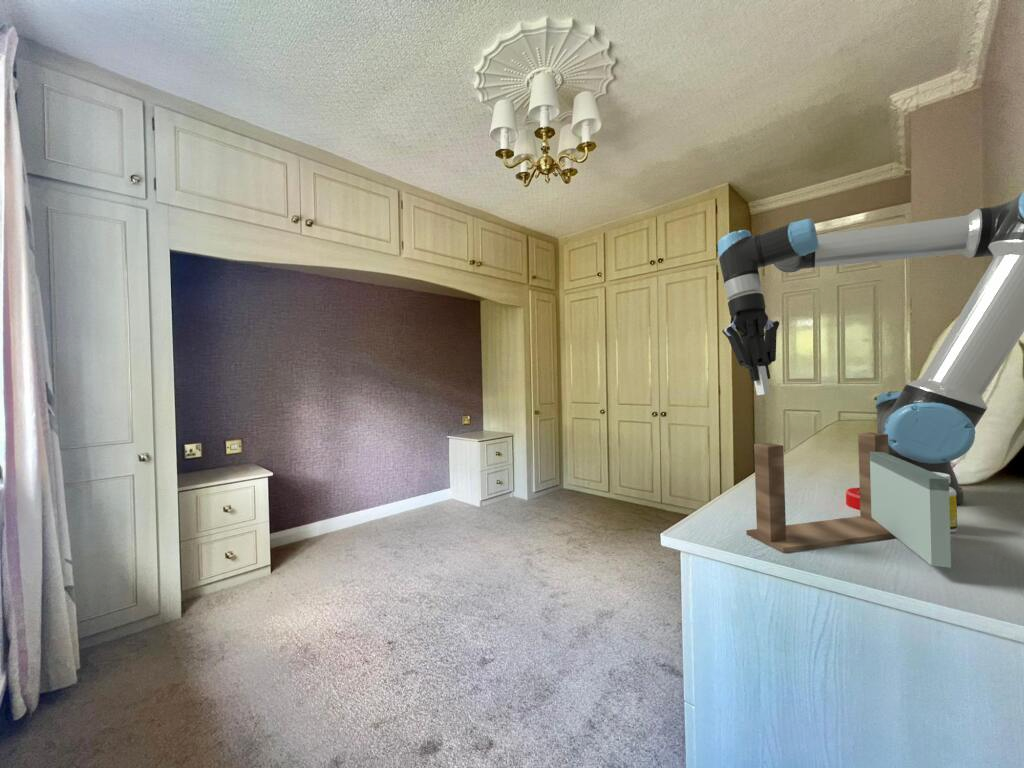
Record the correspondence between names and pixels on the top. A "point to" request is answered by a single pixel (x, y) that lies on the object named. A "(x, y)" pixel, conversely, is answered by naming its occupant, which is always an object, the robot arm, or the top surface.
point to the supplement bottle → (951, 504)
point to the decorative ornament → (853, 498)
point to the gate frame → (820, 532)
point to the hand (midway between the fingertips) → (763, 394)
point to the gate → (912, 506)
